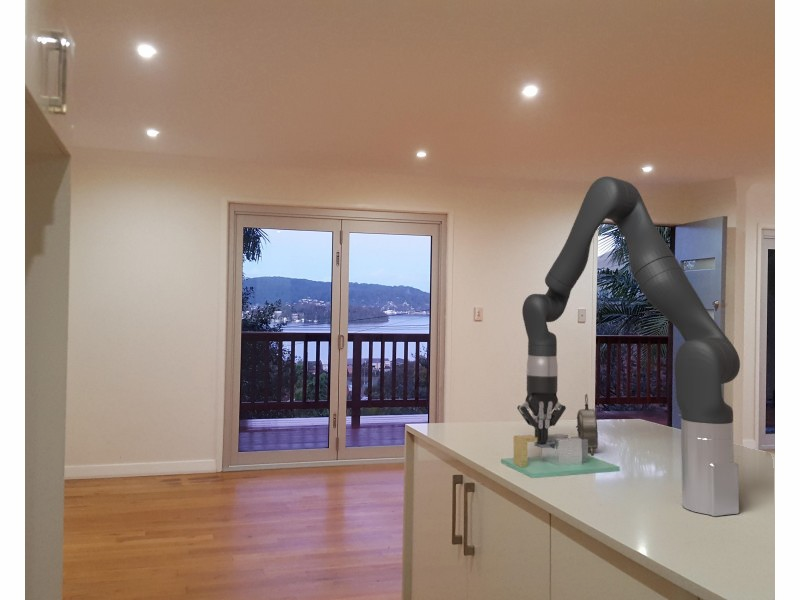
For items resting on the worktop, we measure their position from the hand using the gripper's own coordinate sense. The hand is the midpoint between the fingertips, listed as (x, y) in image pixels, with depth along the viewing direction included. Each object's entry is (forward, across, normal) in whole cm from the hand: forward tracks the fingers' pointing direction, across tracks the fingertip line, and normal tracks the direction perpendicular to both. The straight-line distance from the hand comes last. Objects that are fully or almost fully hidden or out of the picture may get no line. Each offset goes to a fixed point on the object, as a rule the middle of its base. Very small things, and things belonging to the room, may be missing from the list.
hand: (541, 443), depth 155 cm
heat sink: (+5, +7, 0) cm, 9 cm away
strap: (+1, +5, 0) cm, 5 cm away
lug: (+5, -4, 0) cm, 7 cm away
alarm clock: (+6, +22, +13) cm, 26 cm away
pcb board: (+6, +5, 0) cm, 8 cm away
